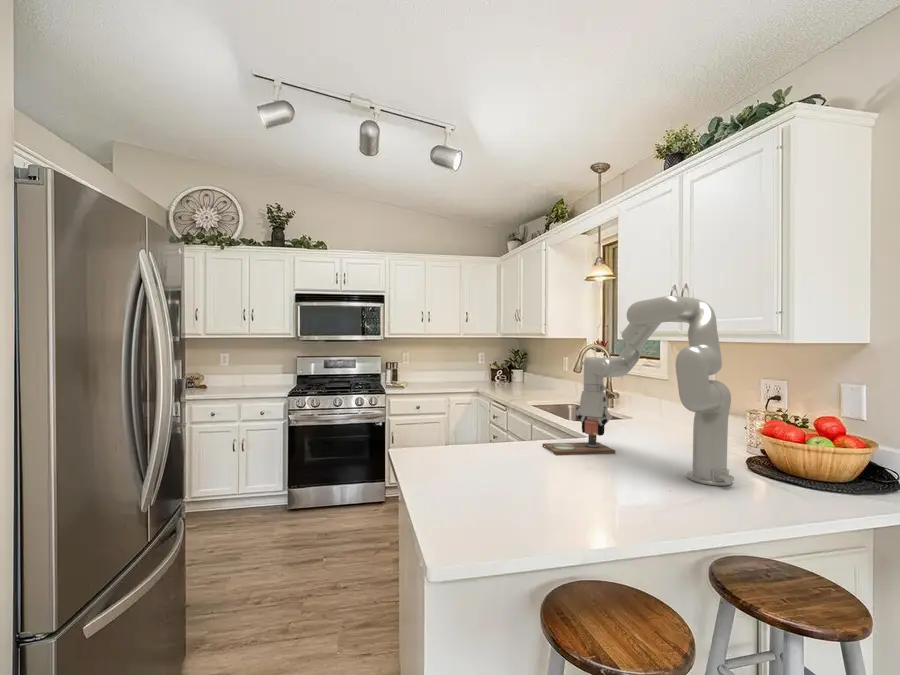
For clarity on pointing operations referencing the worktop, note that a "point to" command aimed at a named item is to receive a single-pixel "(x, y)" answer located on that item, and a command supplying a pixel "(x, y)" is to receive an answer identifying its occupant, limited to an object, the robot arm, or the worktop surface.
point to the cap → (591, 426)
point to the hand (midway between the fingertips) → (592, 433)
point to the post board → (579, 447)
